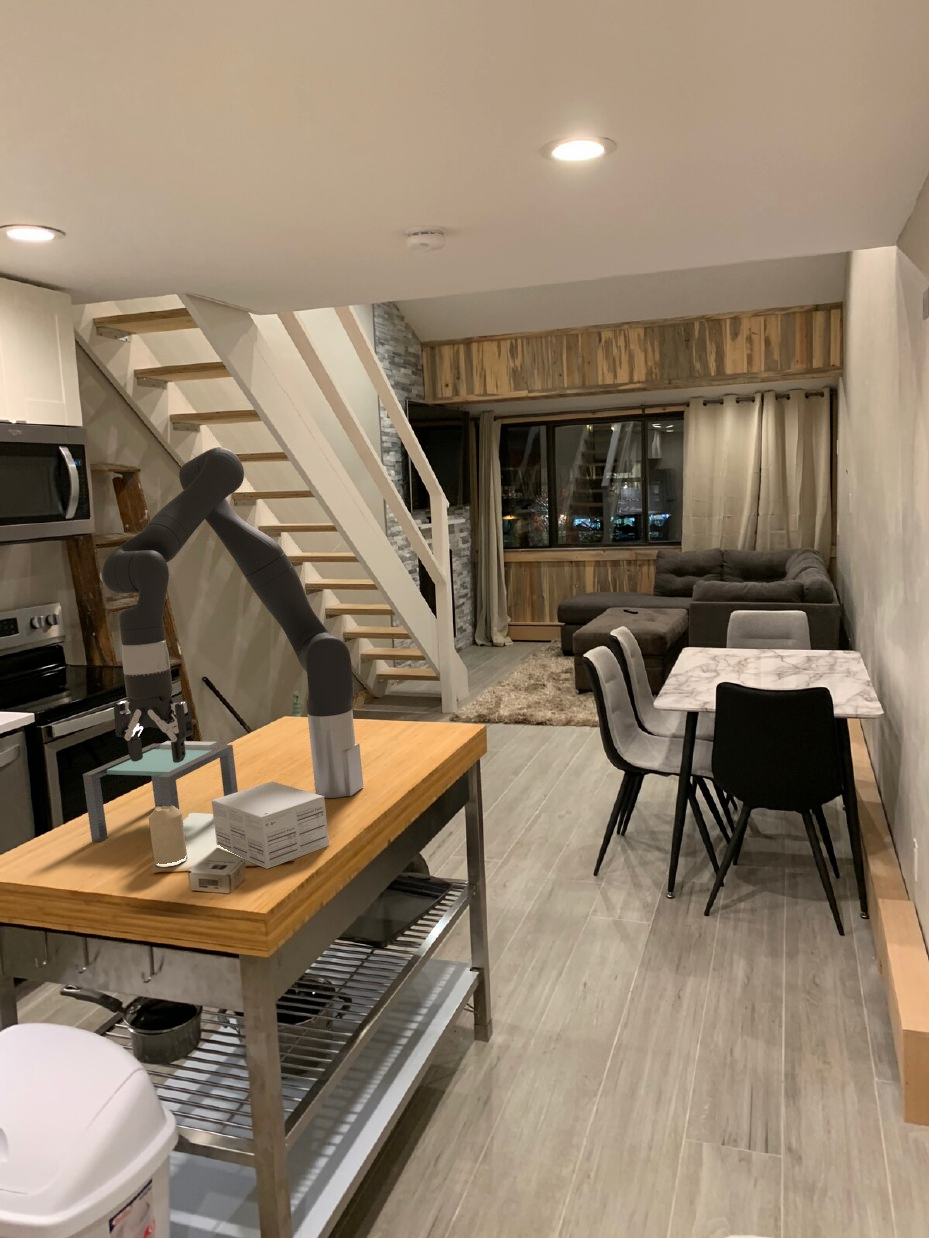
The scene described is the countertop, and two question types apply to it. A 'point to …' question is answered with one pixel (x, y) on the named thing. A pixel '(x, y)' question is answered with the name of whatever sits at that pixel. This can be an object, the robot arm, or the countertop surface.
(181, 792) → the countertop surface
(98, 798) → the frame
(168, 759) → the trapdoor
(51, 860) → the countertop surface
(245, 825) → the supplement box
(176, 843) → the candle
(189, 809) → the countertop surface
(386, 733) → the countertop surface
